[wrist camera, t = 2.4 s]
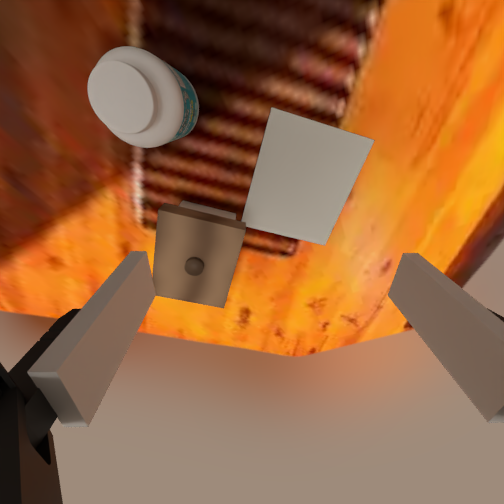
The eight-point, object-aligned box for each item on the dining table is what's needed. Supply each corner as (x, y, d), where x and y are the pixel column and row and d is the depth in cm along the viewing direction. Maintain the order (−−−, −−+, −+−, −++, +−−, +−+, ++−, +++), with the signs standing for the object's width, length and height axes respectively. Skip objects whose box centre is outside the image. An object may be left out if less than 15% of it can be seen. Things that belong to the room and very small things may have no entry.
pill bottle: (175, 151, 32) (135, 173, 21) (126, 104, 30) (46, 99, 18) (213, 105, 30) (191, 100, 18) (162, 49, 27) (98, 1, 15)
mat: (240, 224, 38) (240, 225, 37) (271, 107, 30) (271, 107, 30) (324, 244, 40) (324, 245, 39) (373, 139, 32) (374, 140, 32)
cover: (156, 283, 37) (148, 298, 34) (164, 202, 31) (156, 212, 28) (225, 297, 38) (223, 312, 35) (245, 222, 32) (245, 233, 29)
